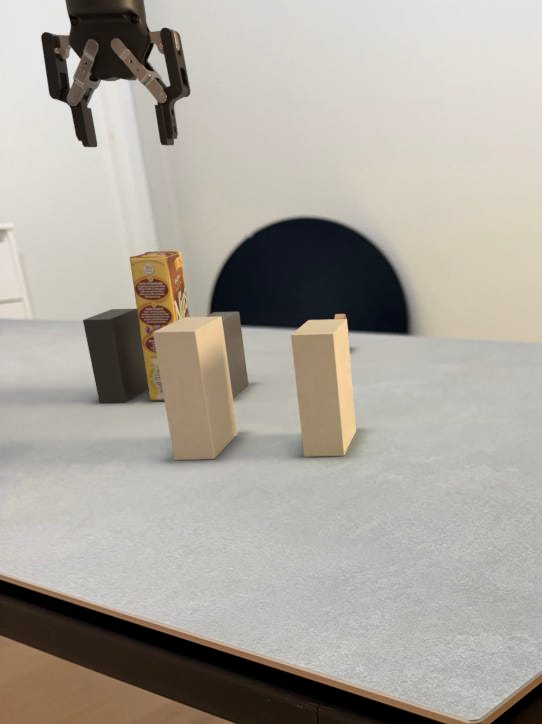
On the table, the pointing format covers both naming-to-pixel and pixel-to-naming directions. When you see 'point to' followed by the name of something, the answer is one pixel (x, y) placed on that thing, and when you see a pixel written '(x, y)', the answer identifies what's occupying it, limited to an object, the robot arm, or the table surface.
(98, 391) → the grey rectangular blocks
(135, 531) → the table surface
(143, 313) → the candy box
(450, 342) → the table surface
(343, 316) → the perforated watch strap
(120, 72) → the robot arm
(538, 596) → the table surface
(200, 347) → the beige blocks
